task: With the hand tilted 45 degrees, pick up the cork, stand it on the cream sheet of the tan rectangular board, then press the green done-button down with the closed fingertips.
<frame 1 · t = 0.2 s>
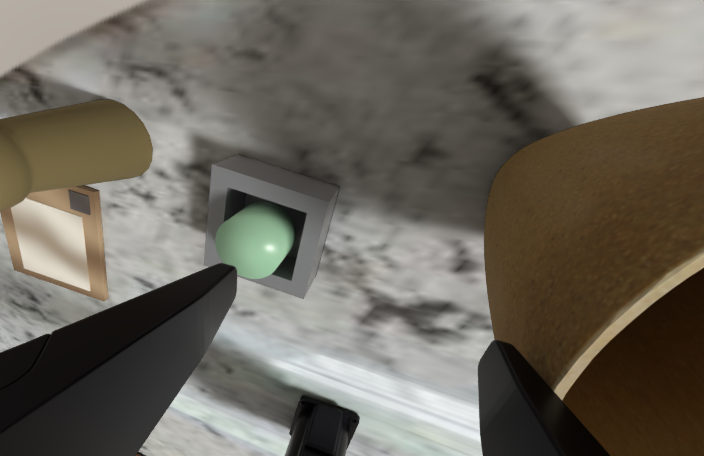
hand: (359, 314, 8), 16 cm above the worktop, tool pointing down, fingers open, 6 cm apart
button housing: (279, 217, 25), on the worktop
plant pot: (544, 188, 21), on the worktop, touching gripper
cork: (119, 140, 25), on the worktop
tan rectangular board: (55, 232, 30), on the worktop
done button: (257, 239, 21), point 4 cm above the worktop, slide at 0.0 cm
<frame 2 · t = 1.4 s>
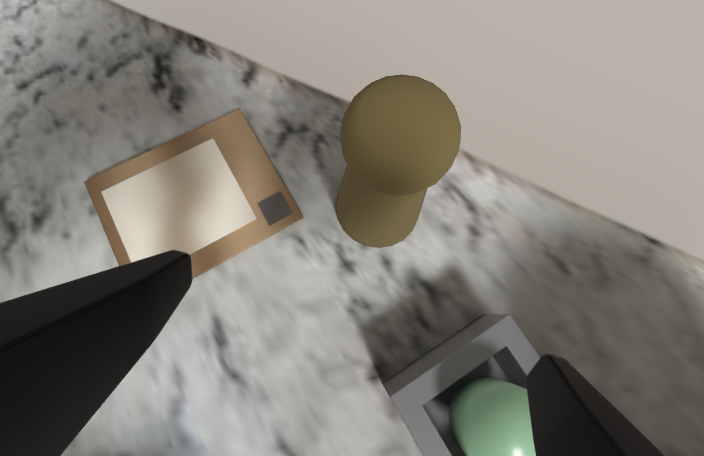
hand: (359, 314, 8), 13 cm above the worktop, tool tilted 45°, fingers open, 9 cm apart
button housing: (471, 407, 19), on the worktop
cork: (377, 207, 23), on the worktop
tan rectangular board: (195, 201, 23), on the worktop
done button: (502, 429, 16), point 4 cm above the worktop, slide at 0.0 cm
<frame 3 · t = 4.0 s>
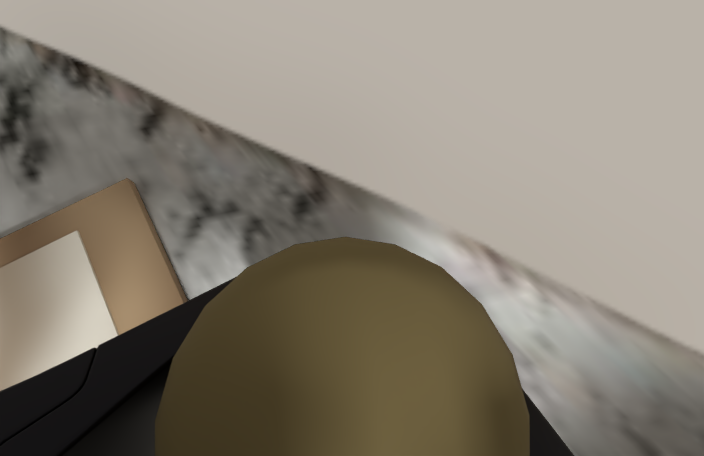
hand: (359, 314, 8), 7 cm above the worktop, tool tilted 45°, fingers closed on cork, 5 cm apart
cork: (343, 346, 14), on the worktop, touching gripper
tan rectangular board: (40, 339, 14), on the worktop
when the fingers open (8 cm above the worktop, at t = 7.4 s): cork stays where it is, resting on tan rectangular board.
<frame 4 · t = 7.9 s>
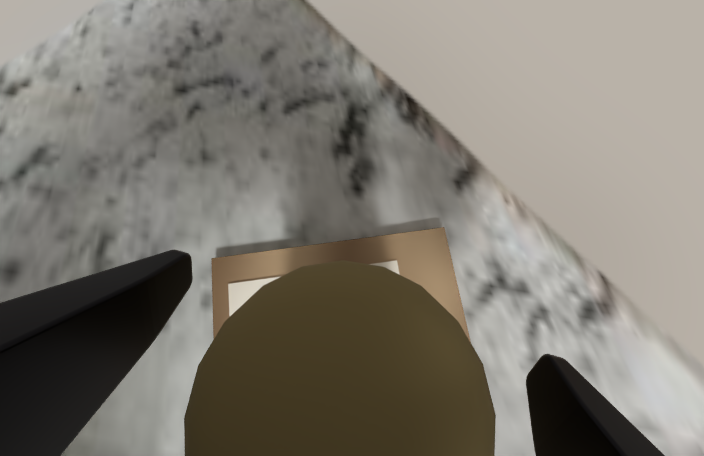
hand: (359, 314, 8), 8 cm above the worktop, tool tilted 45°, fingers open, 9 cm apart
cork: (343, 349, 15), resting on tan rectangular board
tan rectangular board: (343, 344, 15), on the worktop
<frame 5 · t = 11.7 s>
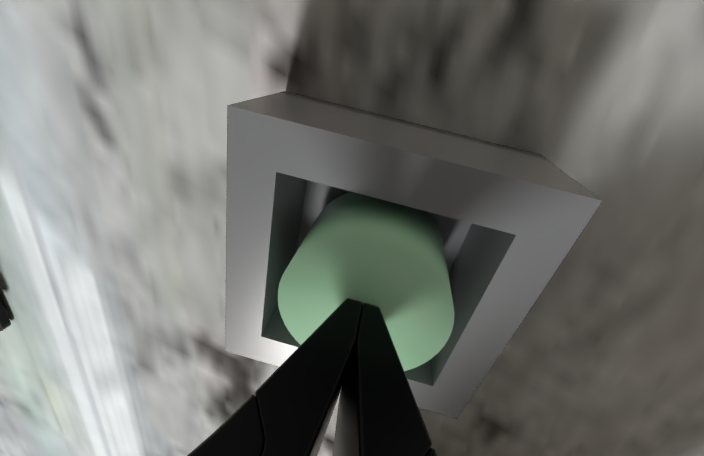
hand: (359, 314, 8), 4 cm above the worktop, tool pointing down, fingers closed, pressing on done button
button housing: (378, 232, 12), on the worktop
done button: (369, 278, 9), point 3 cm above the worktop, slide at 1.2 cm, touching gripper
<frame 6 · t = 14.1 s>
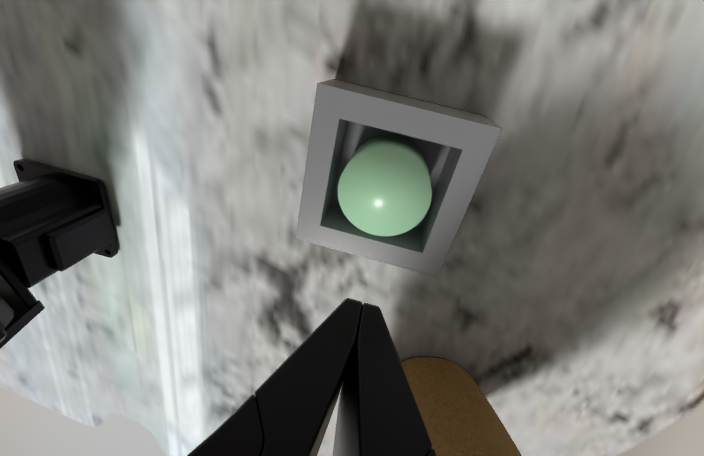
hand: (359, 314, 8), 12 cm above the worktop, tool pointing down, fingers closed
button housing: (388, 169, 18), on the worktop
plant pot: (431, 383, 26), on the worktop
done button: (385, 184, 16), point 3 cm above the worktop, slide at 1.5 cm
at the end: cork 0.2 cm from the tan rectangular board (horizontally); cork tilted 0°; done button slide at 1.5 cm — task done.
